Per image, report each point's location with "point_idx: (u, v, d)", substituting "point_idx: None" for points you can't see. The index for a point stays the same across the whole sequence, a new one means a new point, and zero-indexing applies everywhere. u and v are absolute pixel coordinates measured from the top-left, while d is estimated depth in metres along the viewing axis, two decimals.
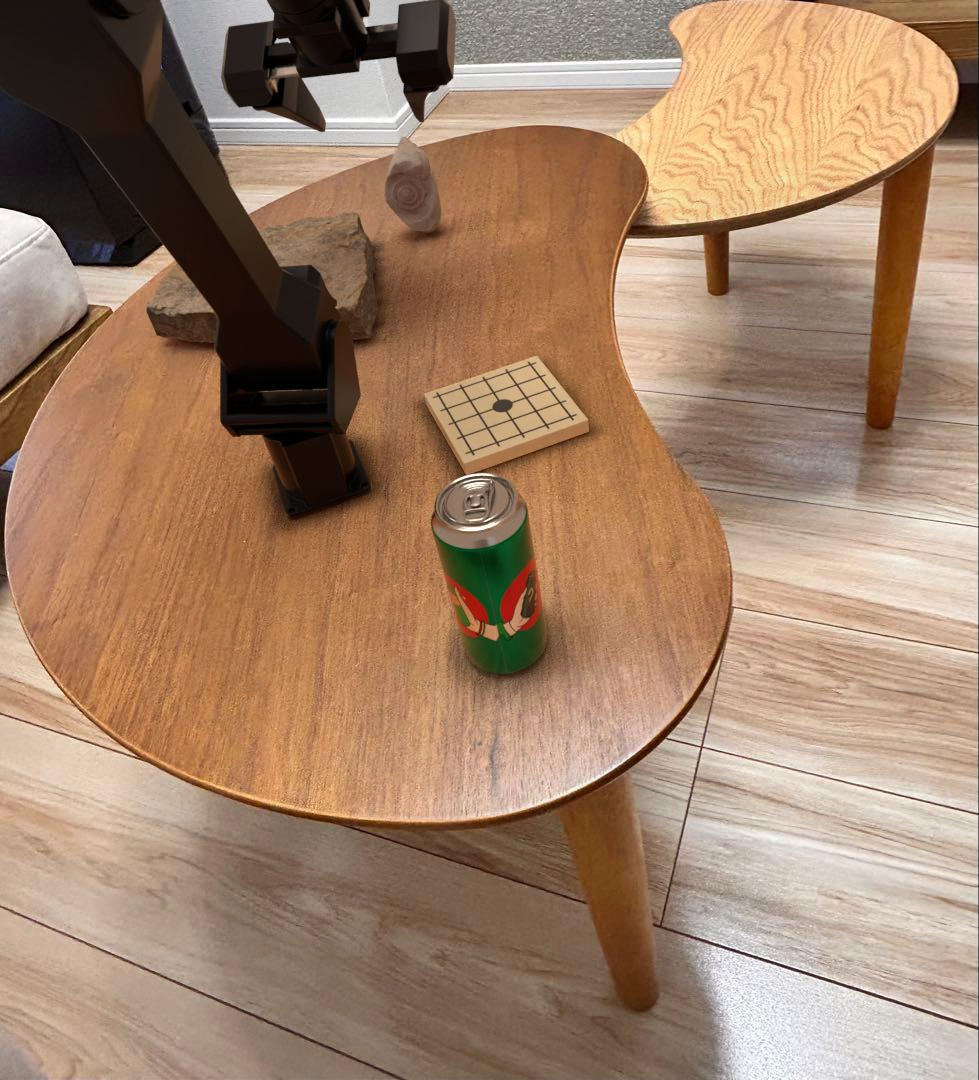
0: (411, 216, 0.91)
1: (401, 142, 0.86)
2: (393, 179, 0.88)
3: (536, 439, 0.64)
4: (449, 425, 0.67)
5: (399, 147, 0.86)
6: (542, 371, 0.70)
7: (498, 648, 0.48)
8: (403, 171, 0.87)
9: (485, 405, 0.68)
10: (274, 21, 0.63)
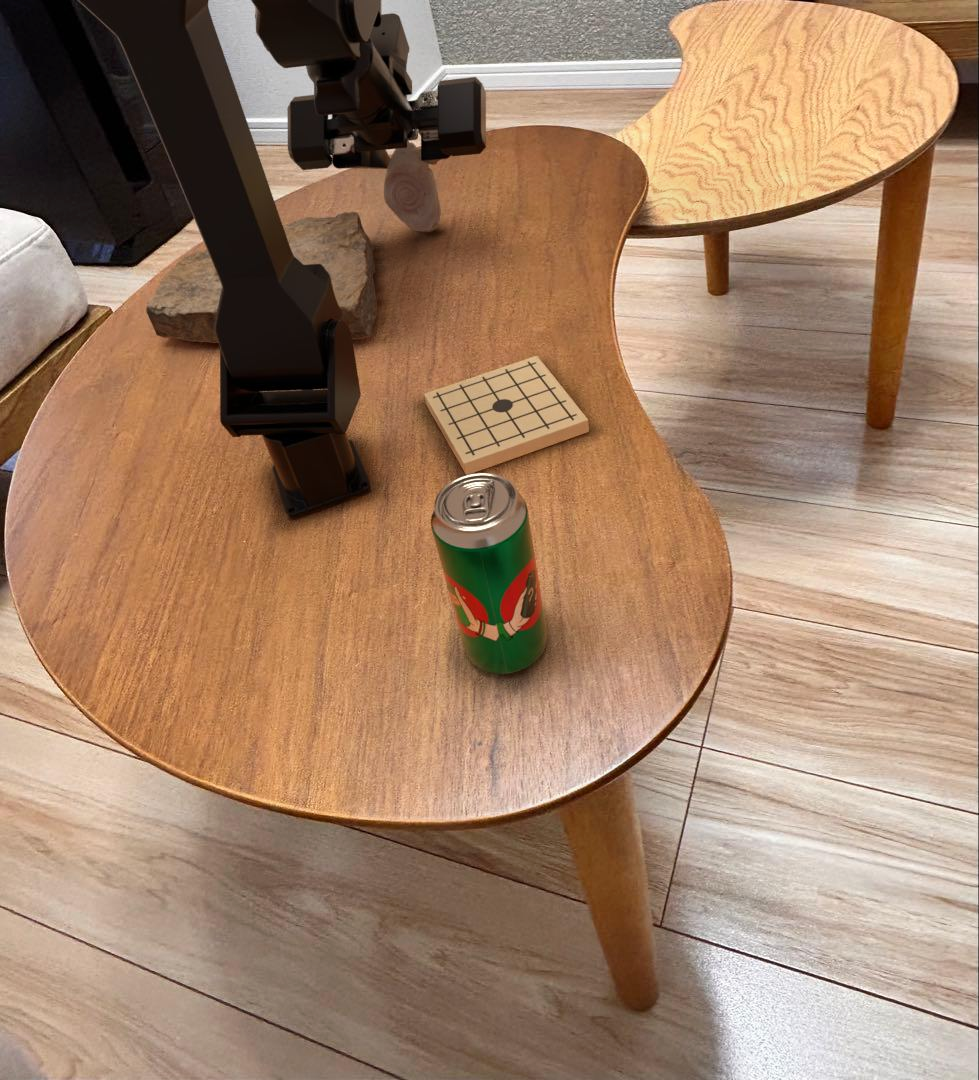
0: (410, 216, 0.91)
1: None
2: (392, 179, 0.88)
3: (536, 439, 0.64)
4: (449, 425, 0.67)
5: None
6: (542, 371, 0.70)
7: (498, 648, 0.48)
8: (402, 171, 0.87)
9: (485, 405, 0.68)
10: (338, 120, 0.75)
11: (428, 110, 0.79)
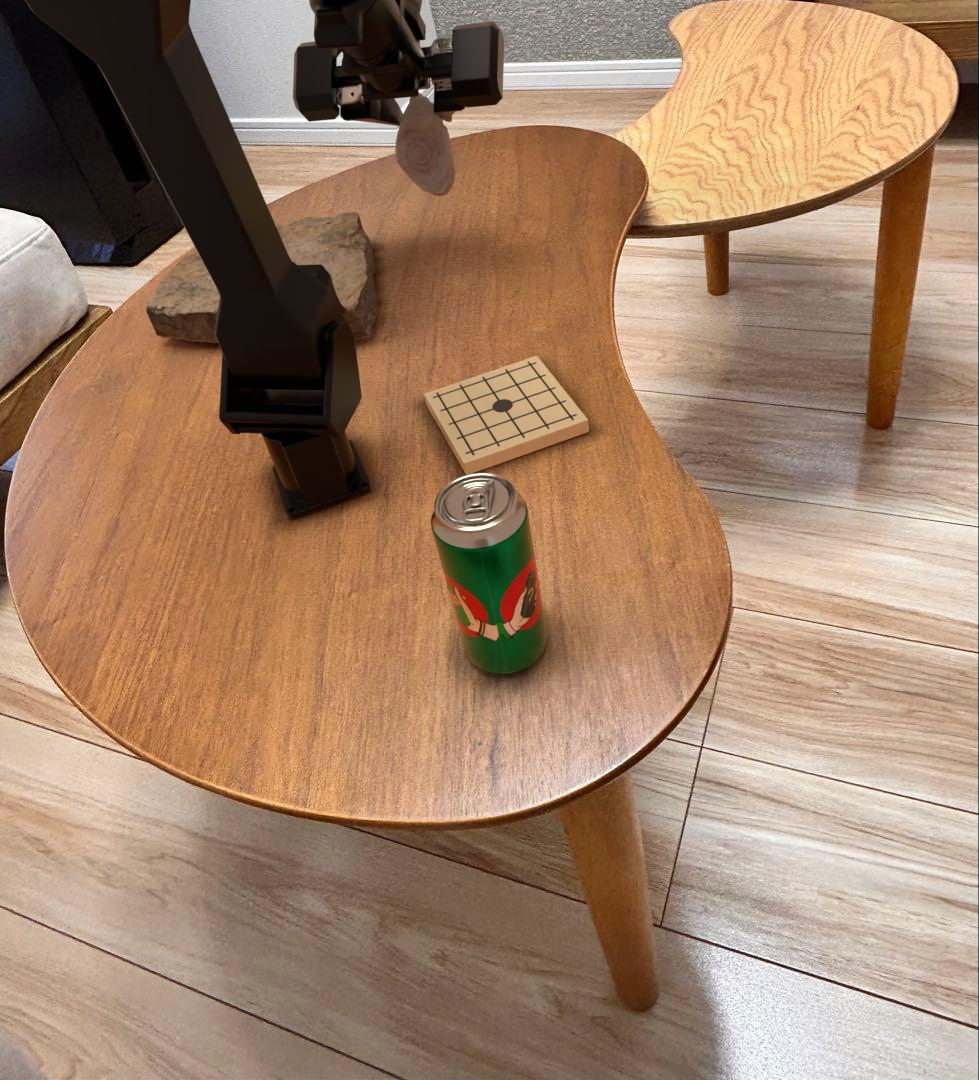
0: (423, 177, 0.86)
1: None
2: (404, 137, 0.83)
3: (536, 439, 0.64)
4: (449, 425, 0.67)
5: (410, 101, 0.82)
6: (542, 371, 0.70)
7: (498, 648, 0.48)
8: (414, 127, 0.82)
9: (485, 405, 0.68)
10: (343, 61, 0.70)
11: (442, 56, 0.74)
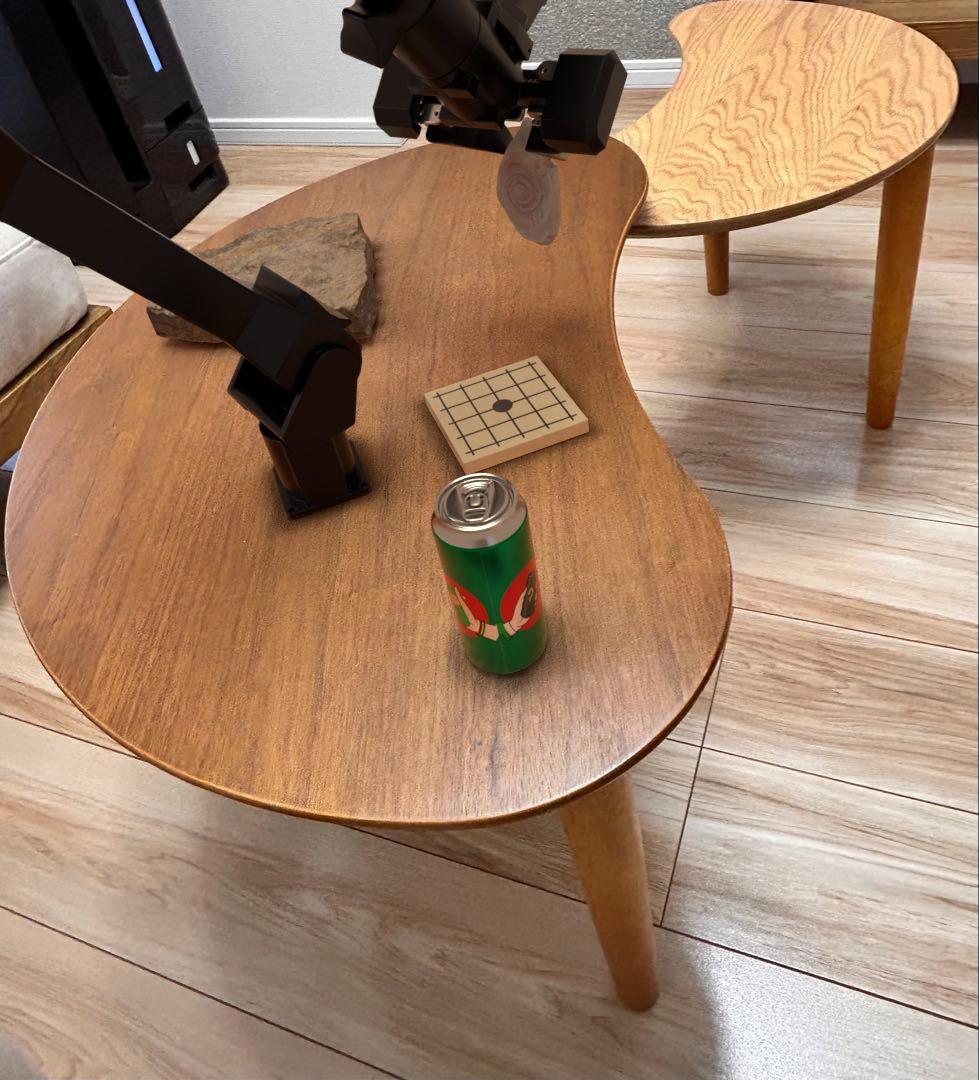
0: (524, 220, 0.71)
1: (522, 123, 0.66)
2: (507, 170, 0.69)
3: (536, 439, 0.64)
4: (449, 425, 0.67)
5: (519, 130, 0.67)
6: (542, 371, 0.70)
7: (498, 648, 0.48)
8: (517, 161, 0.67)
9: (485, 405, 0.68)
10: (410, 77, 0.57)
11: (541, 85, 0.58)
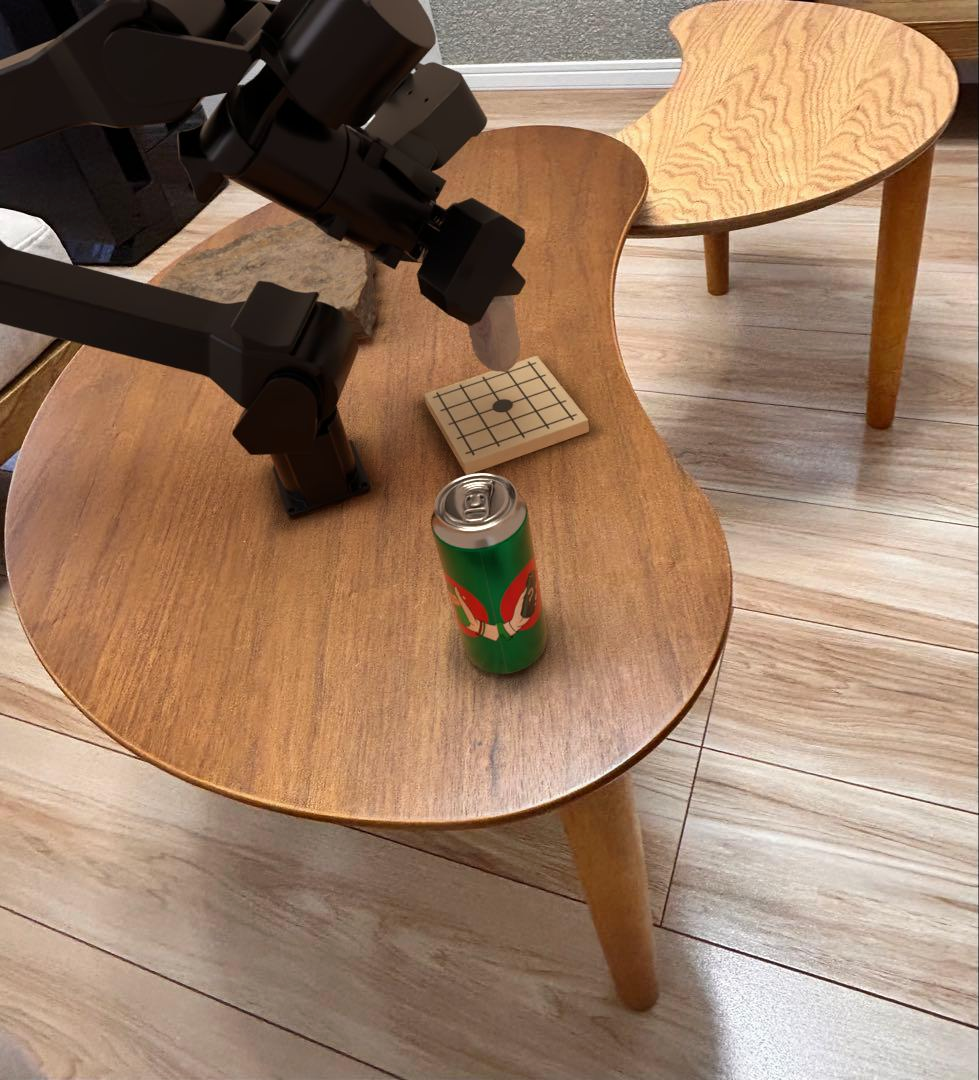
0: (480, 341, 0.64)
1: None
2: None
3: (536, 439, 0.64)
4: (449, 425, 0.67)
5: None
6: (542, 371, 0.70)
7: (498, 648, 0.48)
8: None
9: (485, 405, 0.68)
10: None
11: (435, 233, 0.51)
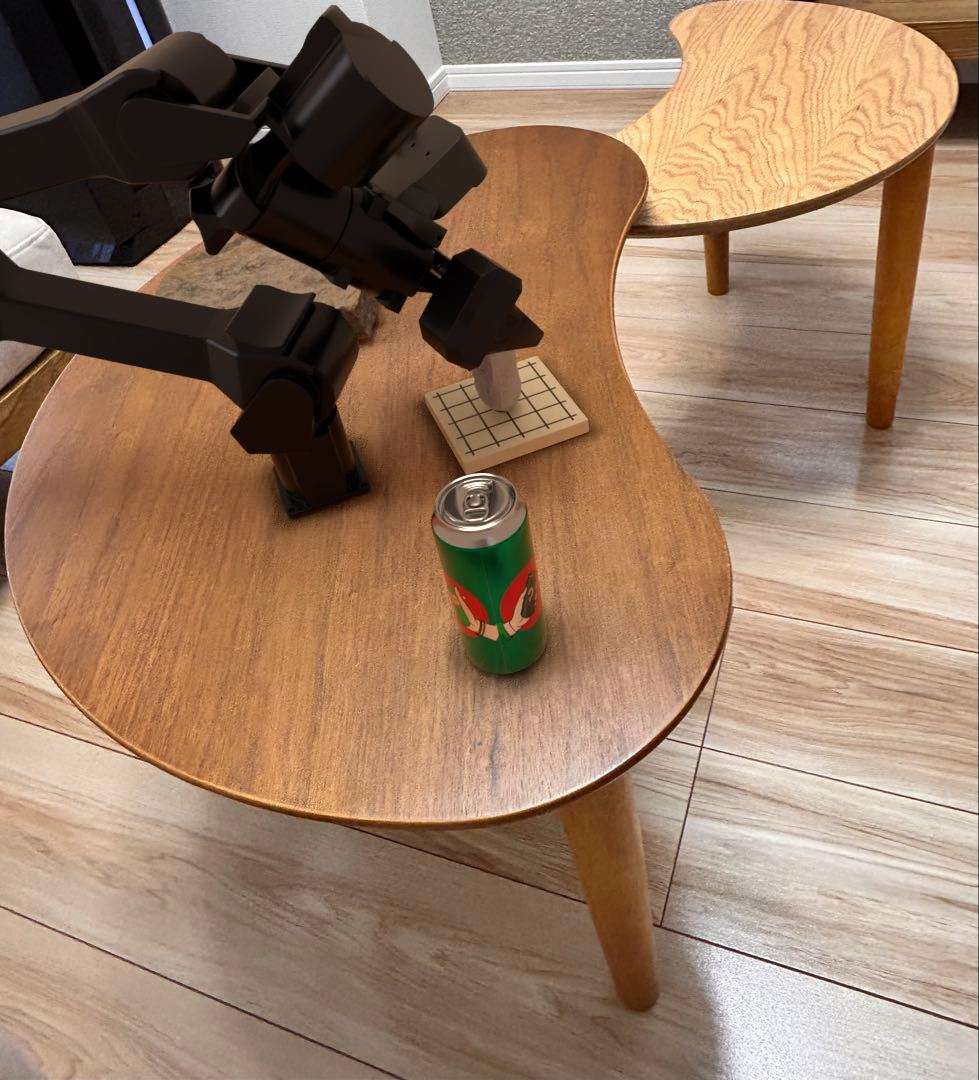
0: (483, 381, 0.66)
1: None
2: None
3: (536, 439, 0.64)
4: (449, 425, 0.67)
5: None
6: (542, 371, 0.70)
7: (498, 648, 0.48)
8: None
9: (485, 405, 0.68)
10: None
11: (437, 280, 0.53)
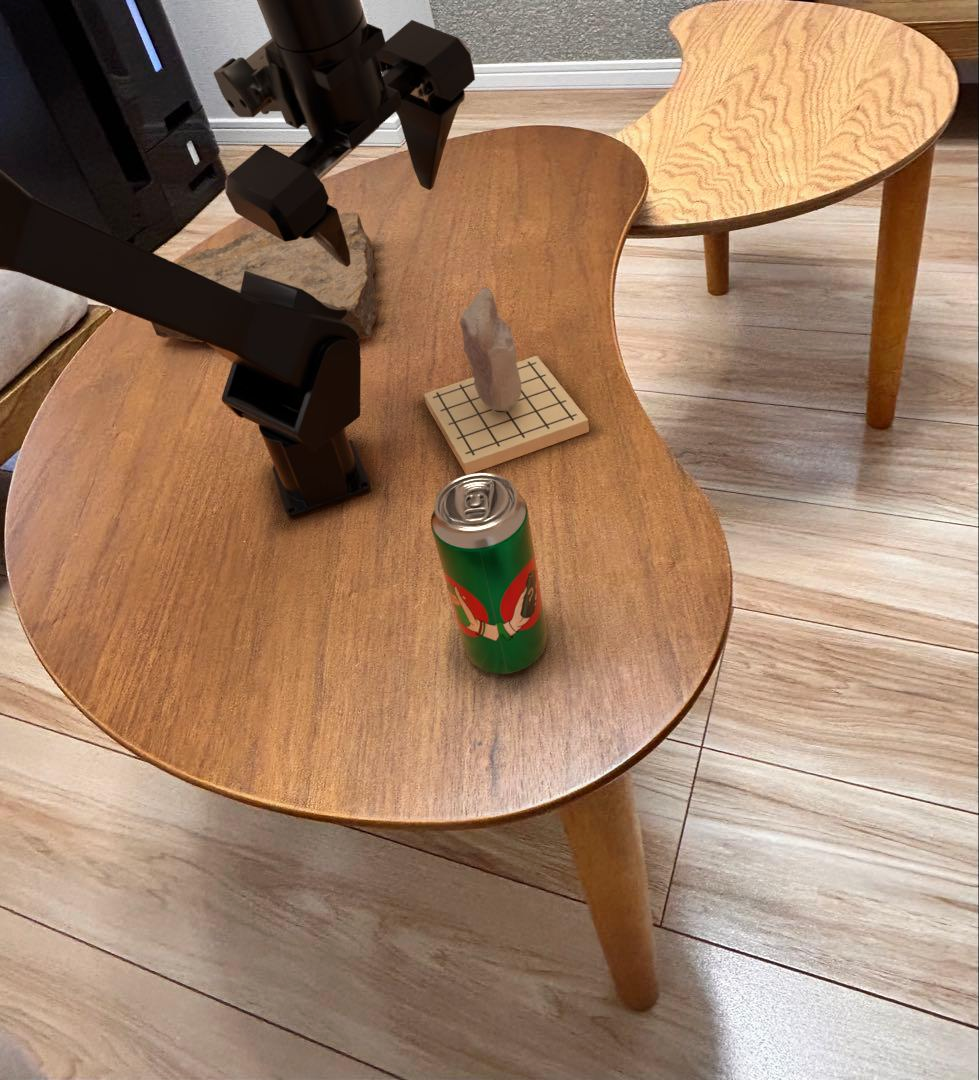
0: (483, 381, 0.66)
1: (477, 294, 0.60)
2: (467, 330, 0.64)
3: (536, 439, 0.64)
4: (449, 425, 0.67)
5: None
6: (542, 371, 0.70)
7: (498, 648, 0.48)
8: None
9: (485, 405, 0.68)
10: (320, 71, 0.51)
11: (390, 71, 0.58)
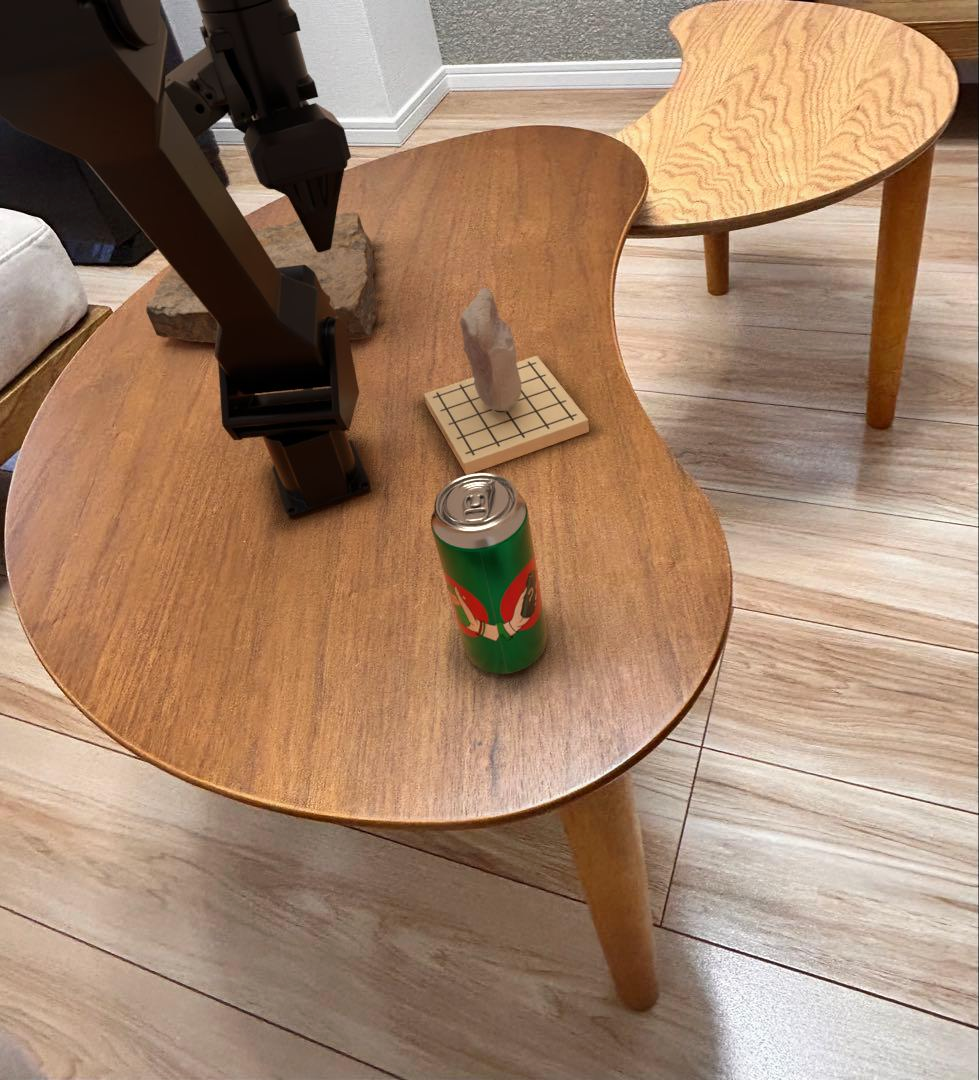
0: (483, 381, 0.66)
1: (477, 294, 0.60)
2: (467, 330, 0.64)
3: (536, 439, 0.64)
4: (449, 425, 0.67)
5: None
6: (542, 371, 0.70)
7: (498, 648, 0.48)
8: None
9: (485, 405, 0.68)
10: (286, 15, 0.56)
11: None
